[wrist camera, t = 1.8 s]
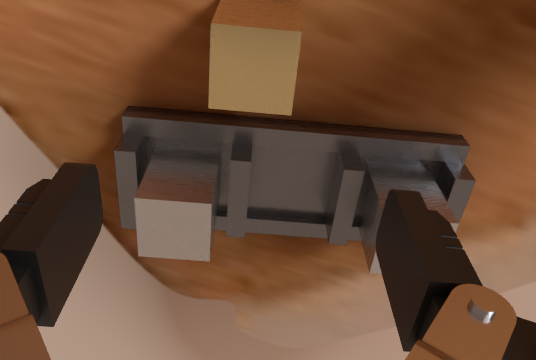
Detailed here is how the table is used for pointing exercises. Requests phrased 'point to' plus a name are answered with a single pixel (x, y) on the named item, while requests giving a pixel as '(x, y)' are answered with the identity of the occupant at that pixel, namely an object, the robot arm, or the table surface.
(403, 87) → the table surface
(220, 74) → the tan rectangular block
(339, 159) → the grey divided rack
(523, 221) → the table surface
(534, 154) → the table surface
